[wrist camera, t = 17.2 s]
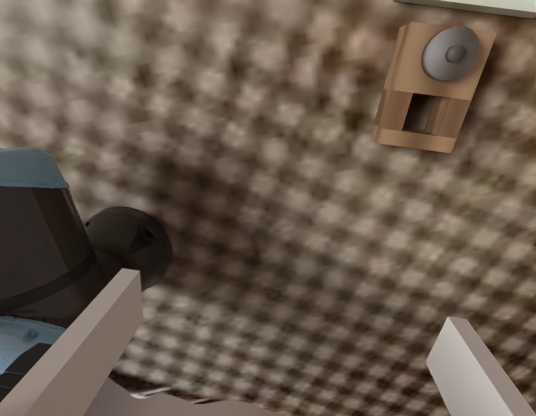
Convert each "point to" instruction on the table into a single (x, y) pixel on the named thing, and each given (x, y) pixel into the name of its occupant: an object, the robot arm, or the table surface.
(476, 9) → the tray
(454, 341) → the robot arm
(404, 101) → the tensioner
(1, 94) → the table surface
